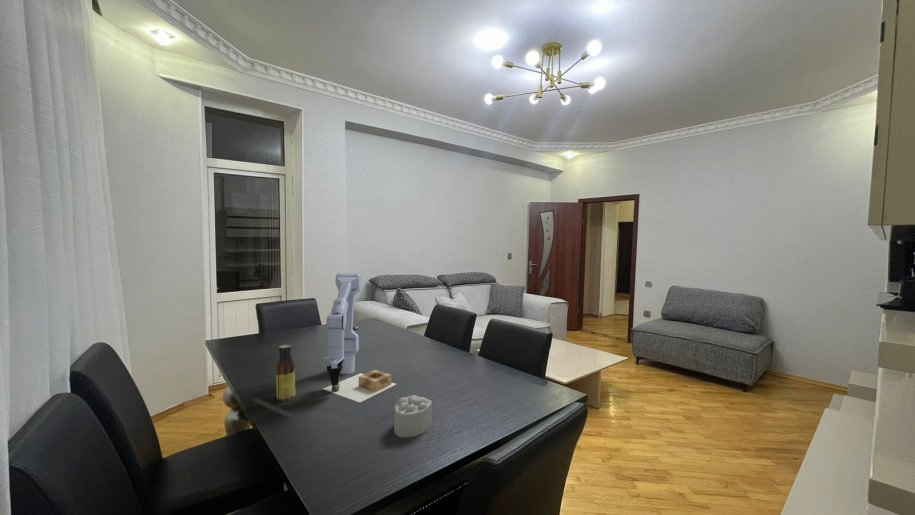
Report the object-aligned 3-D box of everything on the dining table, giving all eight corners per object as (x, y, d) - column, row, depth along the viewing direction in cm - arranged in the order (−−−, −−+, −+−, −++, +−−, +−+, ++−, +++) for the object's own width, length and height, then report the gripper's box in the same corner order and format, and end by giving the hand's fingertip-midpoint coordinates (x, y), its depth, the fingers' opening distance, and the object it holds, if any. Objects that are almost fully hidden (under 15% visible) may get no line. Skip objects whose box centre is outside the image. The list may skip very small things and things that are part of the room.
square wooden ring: (358, 386, 142) (358, 376, 142) (374, 379, 150) (375, 369, 150) (375, 392, 138) (375, 381, 137) (391, 384, 145) (391, 374, 145)
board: (322, 391, 139) (322, 388, 139) (360, 375, 156) (361, 373, 156) (359, 405, 129) (359, 402, 129) (396, 386, 146) (396, 384, 146)
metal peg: (329, 390, 138) (330, 370, 137) (335, 388, 140) (336, 367, 140) (335, 392, 136) (335, 371, 136) (340, 389, 139) (341, 369, 138)
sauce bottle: (299, 398, 133) (299, 345, 132) (284, 405, 127) (285, 349, 126) (286, 394, 136) (287, 342, 134) (271, 401, 130) (272, 347, 129)
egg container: (435, 421, 119) (435, 396, 119) (414, 441, 108) (415, 413, 107) (408, 414, 124) (409, 389, 123) (385, 432, 112) (386, 405, 111)
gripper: (327, 340, 143) (326, 374, 144) (322, 351, 129) (322, 388, 130) (345, 339, 145) (345, 373, 146) (343, 350, 131) (342, 387, 132)
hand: (335, 380), depth 138 cm, fingers open, 7 cm apart
